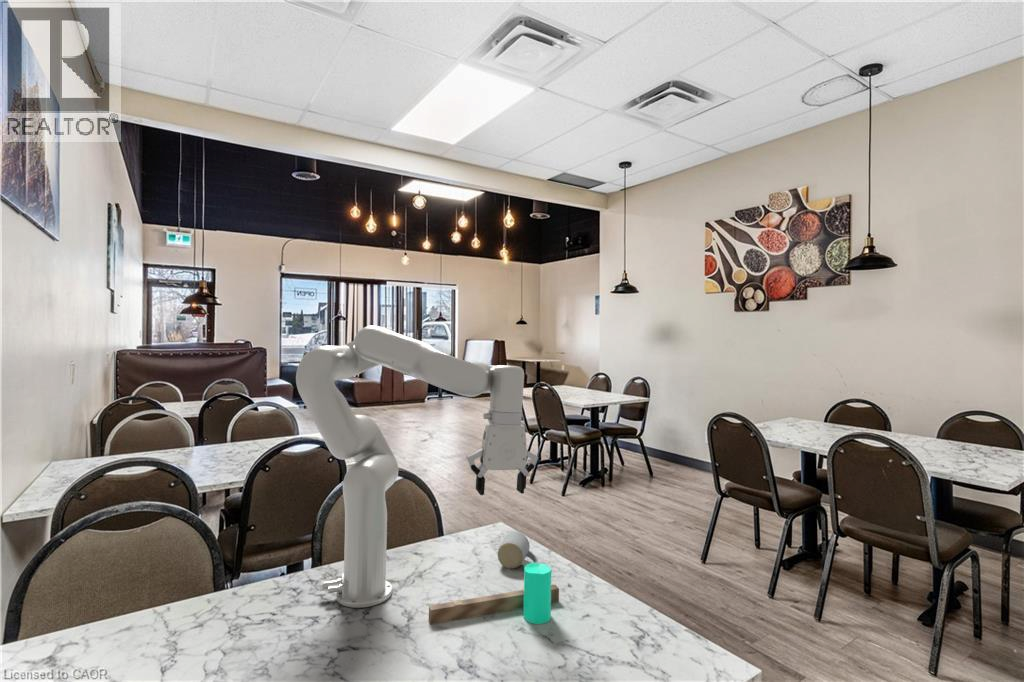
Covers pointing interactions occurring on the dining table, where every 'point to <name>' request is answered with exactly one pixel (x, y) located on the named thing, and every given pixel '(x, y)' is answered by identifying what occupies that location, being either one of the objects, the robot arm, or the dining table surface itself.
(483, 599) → the rail
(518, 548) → the ceramic mug
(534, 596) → the candle
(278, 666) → the dining table surface
